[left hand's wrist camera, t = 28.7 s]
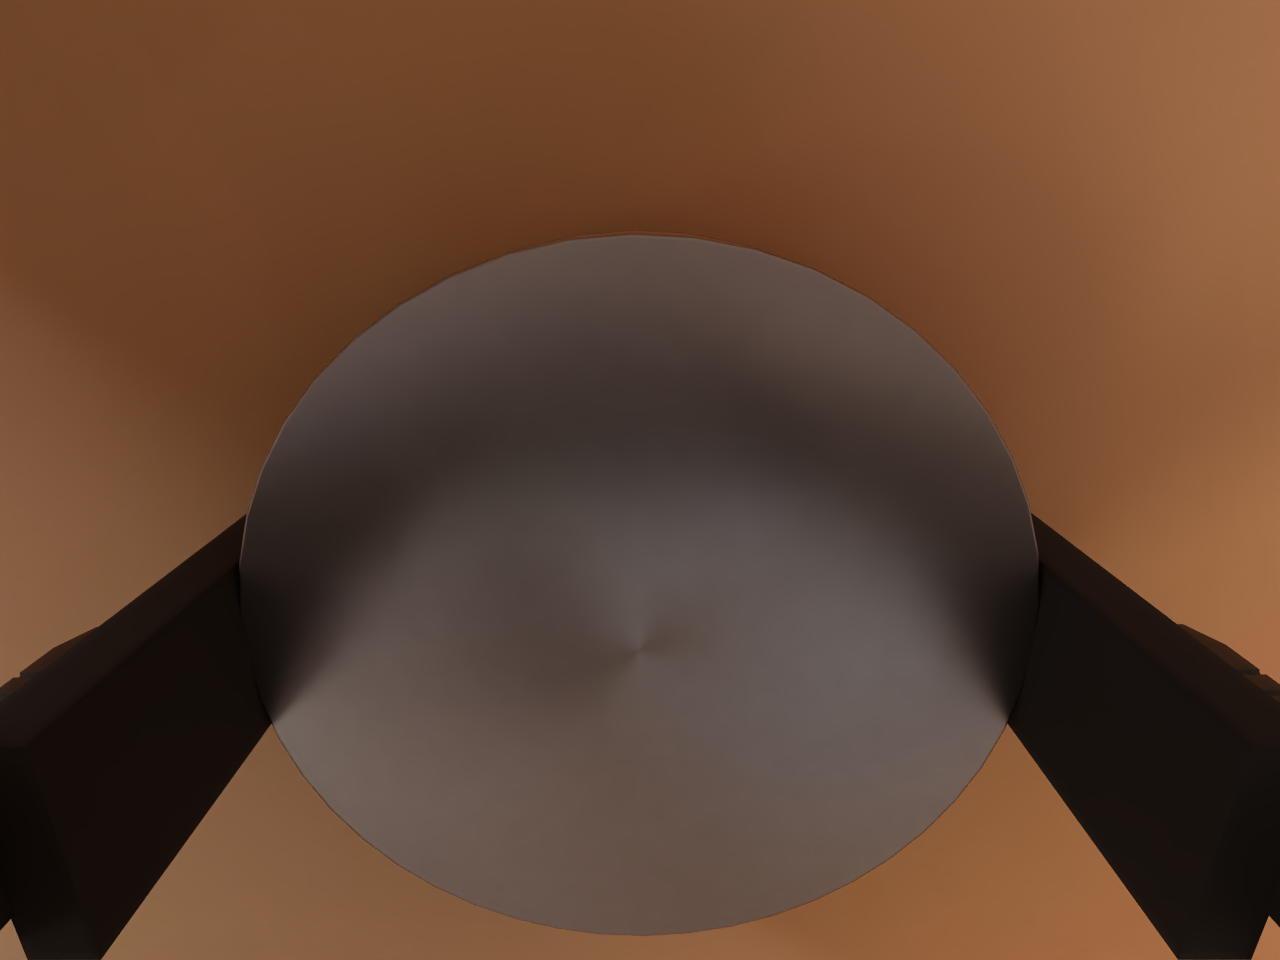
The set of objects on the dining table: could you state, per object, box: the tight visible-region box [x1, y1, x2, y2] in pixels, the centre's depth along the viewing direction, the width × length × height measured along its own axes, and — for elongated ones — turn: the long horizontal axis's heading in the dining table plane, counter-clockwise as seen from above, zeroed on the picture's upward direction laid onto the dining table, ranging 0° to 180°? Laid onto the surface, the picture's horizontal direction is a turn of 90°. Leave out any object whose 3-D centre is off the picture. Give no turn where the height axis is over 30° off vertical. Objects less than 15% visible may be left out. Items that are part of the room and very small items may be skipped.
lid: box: [239, 231, 1040, 936], centre depth 11 cm, size 11×11×2 cm
